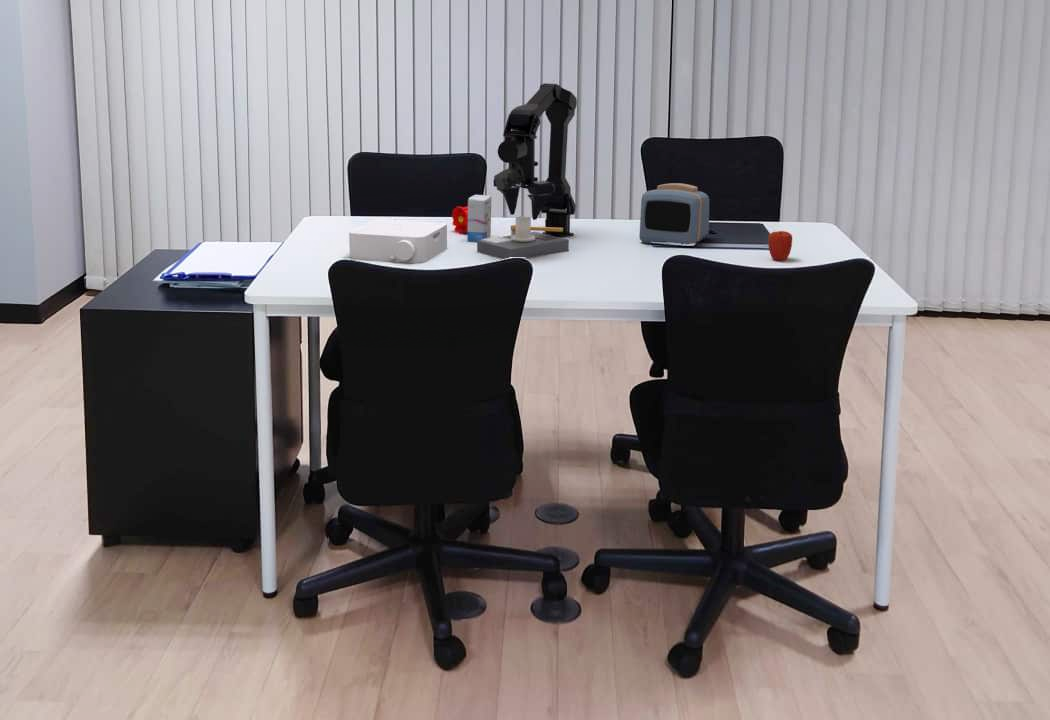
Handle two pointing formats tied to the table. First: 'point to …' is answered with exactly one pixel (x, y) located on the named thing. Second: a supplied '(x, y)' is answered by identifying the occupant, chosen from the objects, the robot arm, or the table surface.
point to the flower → (460, 219)
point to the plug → (523, 230)
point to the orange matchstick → (540, 228)
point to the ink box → (479, 217)
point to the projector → (398, 240)
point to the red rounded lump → (780, 245)
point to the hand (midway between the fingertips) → (523, 217)
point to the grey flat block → (522, 246)
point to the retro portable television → (674, 214)
